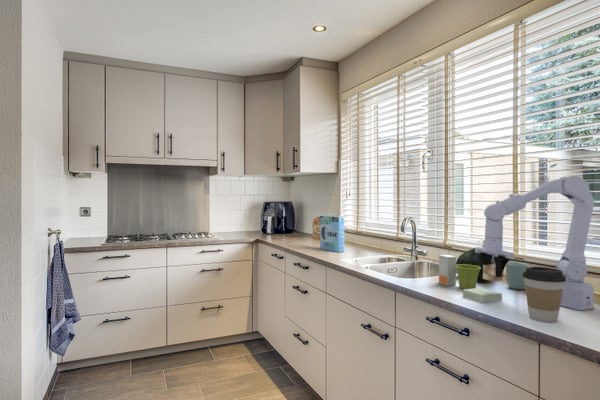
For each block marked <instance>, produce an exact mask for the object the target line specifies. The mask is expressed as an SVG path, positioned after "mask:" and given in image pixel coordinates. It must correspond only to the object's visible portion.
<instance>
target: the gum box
mask: <svg viewBox="0 0 600 400" xmlns="http://www.w3.org/2000/svg"><path fill="white" fill-rule="evenodd" d="M319 220H320V222H319V230H320V231H319V233H320V234H319V237H320V238H319V240H320V241H319V244H320V245H319V246H320V247H319V250H324V251H330V252H335V253H345V216H337V215H319Z"/></svg>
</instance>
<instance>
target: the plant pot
mask: <svg viewBox="0 0 600 400" xmlns="http://www.w3.org/2000/svg"><path fill="white" fill-rule="evenodd" d="M456 267H457V268H456V272H457V277H458V287H459V288H461V289H463V290H465V289H473V288H477V283H478V281H477V278H478V273H479V270H480V269H481V267H479V266H474V265H466V264H459V265H456Z"/></svg>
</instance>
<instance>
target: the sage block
mask: <svg viewBox="0 0 600 400" xmlns="http://www.w3.org/2000/svg"><path fill="white" fill-rule="evenodd" d="M462 297H464V298H466V299H469V300H473V301H475V302H478V301H479V303H483V304H485V303H493V302H500V301H503V293H502V292H499V291H495V290H491V289H488V288H484V287H476V288H473V289H463V290H462Z"/></svg>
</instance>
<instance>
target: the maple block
mask: <svg viewBox="0 0 600 400" xmlns="http://www.w3.org/2000/svg"><path fill="white" fill-rule="evenodd" d="M503 274H504V273H503ZM503 274H502V277H496V267H495V264H493V263H492V264H490V265H483V279H486V280H485V281H491V282H500V281H501V282H502V281H503V280H504V279H503V278H504V277H503V276H504V275H503Z"/></svg>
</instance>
